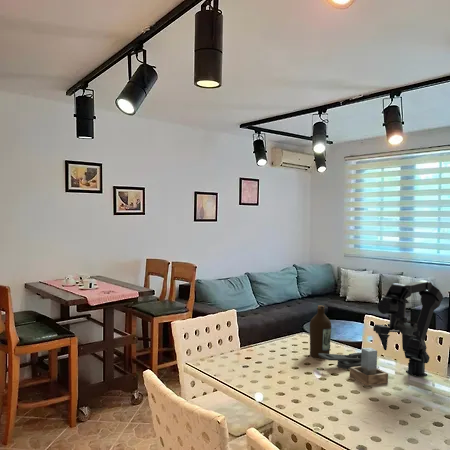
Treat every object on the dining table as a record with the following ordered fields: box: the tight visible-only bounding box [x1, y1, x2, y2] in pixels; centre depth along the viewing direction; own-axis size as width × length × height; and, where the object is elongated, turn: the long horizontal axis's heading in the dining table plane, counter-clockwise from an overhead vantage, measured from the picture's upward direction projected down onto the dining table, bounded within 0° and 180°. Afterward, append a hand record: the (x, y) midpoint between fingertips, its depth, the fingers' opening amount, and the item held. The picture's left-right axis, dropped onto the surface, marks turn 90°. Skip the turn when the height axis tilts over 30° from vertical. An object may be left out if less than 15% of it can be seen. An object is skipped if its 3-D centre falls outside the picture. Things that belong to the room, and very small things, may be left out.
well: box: [349, 366, 389, 386], centre depth 180 cm, size 11×11×4 cm
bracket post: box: [360, 347, 378, 375], centre depth 180 cm, size 7×7×12 cm
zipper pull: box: [318, 352, 362, 370], centre depth 195 cm, size 9×7×25 cm
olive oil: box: [309, 304, 332, 360], centre depth 210 cm, size 11×11×25 cm
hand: (394, 350), depth 179 cm, fingers open, 9 cm apart
